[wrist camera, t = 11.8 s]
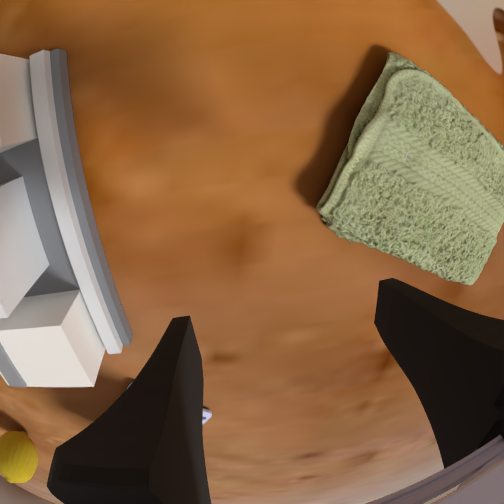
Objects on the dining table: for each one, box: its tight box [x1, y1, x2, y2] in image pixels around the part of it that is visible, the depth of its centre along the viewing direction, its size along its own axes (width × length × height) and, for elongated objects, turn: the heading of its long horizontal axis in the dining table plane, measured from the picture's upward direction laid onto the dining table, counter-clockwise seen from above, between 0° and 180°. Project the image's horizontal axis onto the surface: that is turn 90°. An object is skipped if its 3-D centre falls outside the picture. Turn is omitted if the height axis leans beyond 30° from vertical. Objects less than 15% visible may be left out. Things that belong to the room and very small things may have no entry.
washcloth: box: [316, 52, 504, 285], centre depth 19 cm, size 13×18×3 cm
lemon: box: [0, 431, 38, 483], centre depth 23 cm, size 6×6×8 cm
